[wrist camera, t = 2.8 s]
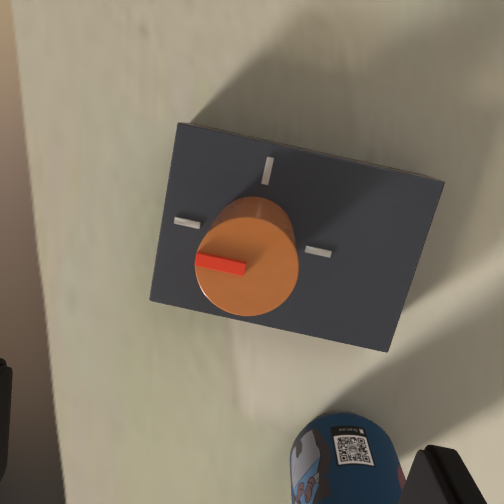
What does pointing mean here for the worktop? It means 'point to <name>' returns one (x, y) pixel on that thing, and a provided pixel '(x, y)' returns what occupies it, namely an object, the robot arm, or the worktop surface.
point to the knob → (248, 258)
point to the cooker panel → (301, 231)
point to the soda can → (344, 463)
